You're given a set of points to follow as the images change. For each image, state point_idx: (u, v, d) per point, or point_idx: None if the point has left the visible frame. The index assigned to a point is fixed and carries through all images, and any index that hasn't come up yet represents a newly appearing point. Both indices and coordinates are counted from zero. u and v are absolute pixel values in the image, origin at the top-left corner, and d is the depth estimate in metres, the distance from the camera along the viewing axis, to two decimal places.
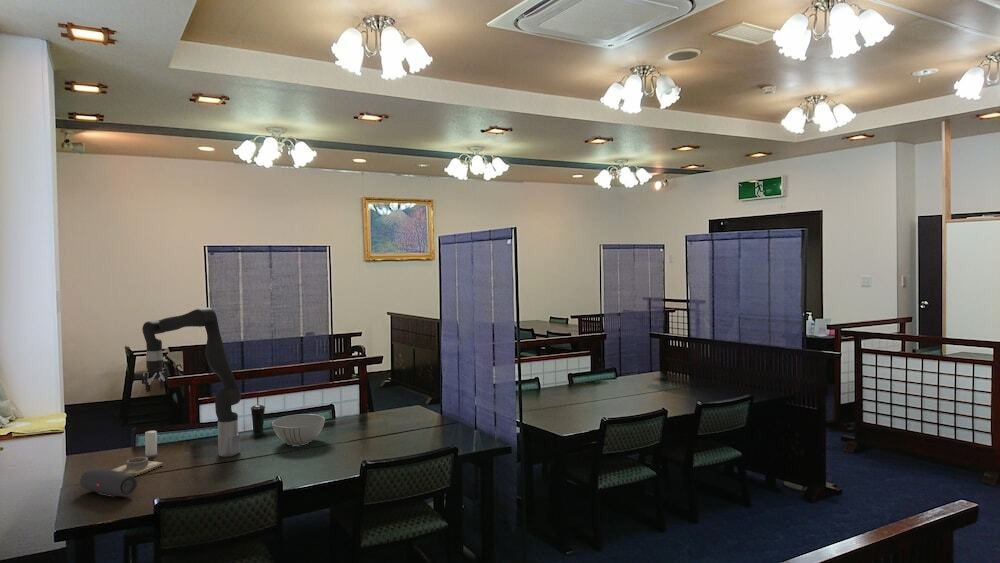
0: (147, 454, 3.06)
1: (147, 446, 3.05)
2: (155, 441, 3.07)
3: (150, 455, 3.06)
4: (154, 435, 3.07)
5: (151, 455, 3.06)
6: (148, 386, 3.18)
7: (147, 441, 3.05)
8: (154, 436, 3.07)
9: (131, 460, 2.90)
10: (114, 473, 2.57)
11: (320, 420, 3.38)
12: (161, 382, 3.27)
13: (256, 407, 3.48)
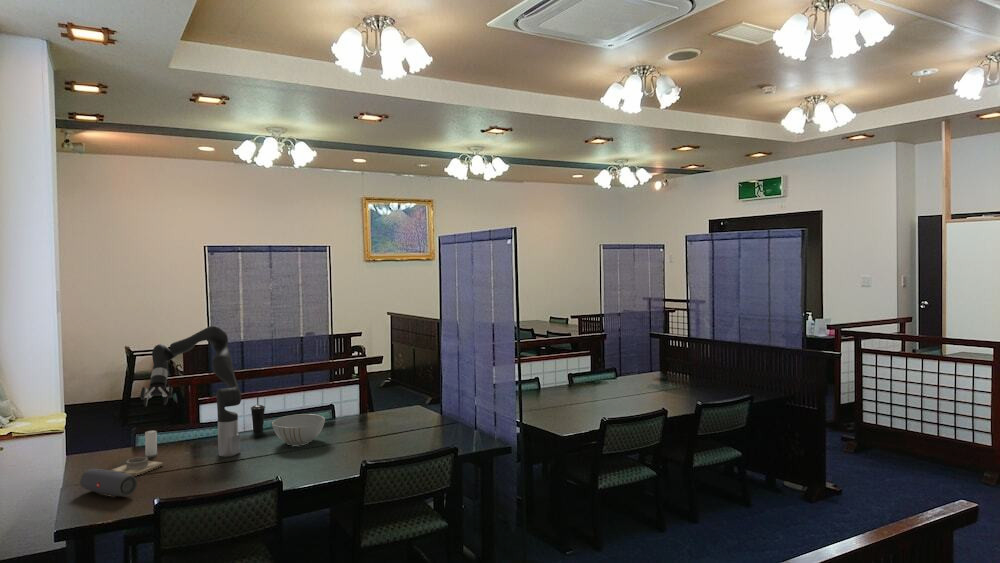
0: (147, 454, 3.06)
1: (147, 446, 3.05)
2: (155, 441, 3.07)
3: (150, 455, 3.06)
4: (154, 435, 3.07)
5: (151, 455, 3.06)
6: None
7: (147, 441, 3.05)
8: (154, 436, 3.07)
9: (131, 460, 2.90)
10: (114, 473, 2.57)
11: (320, 420, 3.38)
12: (147, 400, 3.19)
13: (256, 407, 3.48)
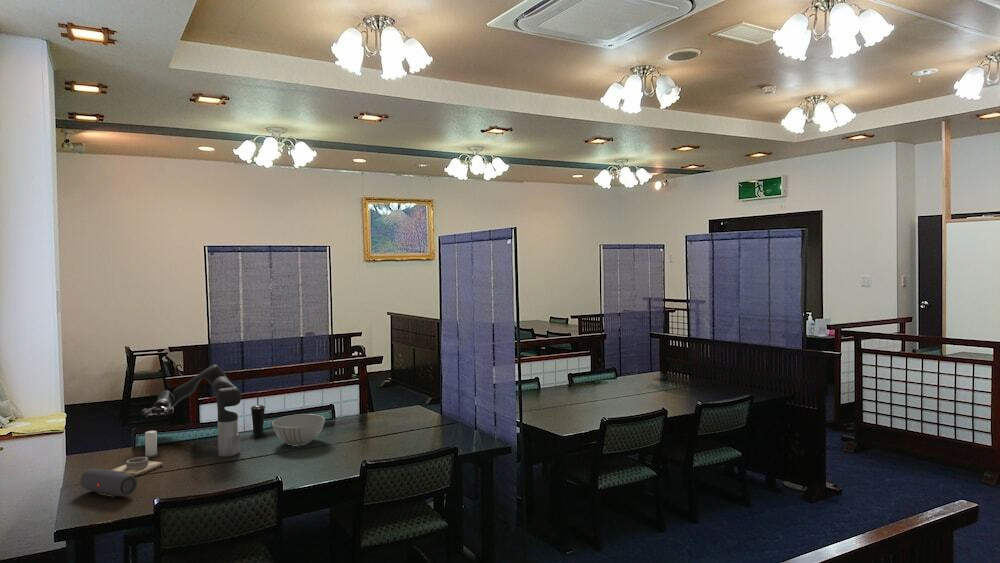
0: (147, 454, 3.06)
1: (147, 446, 3.05)
2: (155, 441, 3.07)
3: (150, 455, 3.06)
4: (154, 435, 3.07)
5: (151, 455, 3.06)
6: (167, 413, 3.22)
7: (147, 441, 3.05)
8: (154, 436, 3.07)
9: (131, 460, 2.90)
10: (114, 473, 2.57)
11: (320, 420, 3.38)
12: (147, 413, 3.19)
13: (256, 407, 3.48)
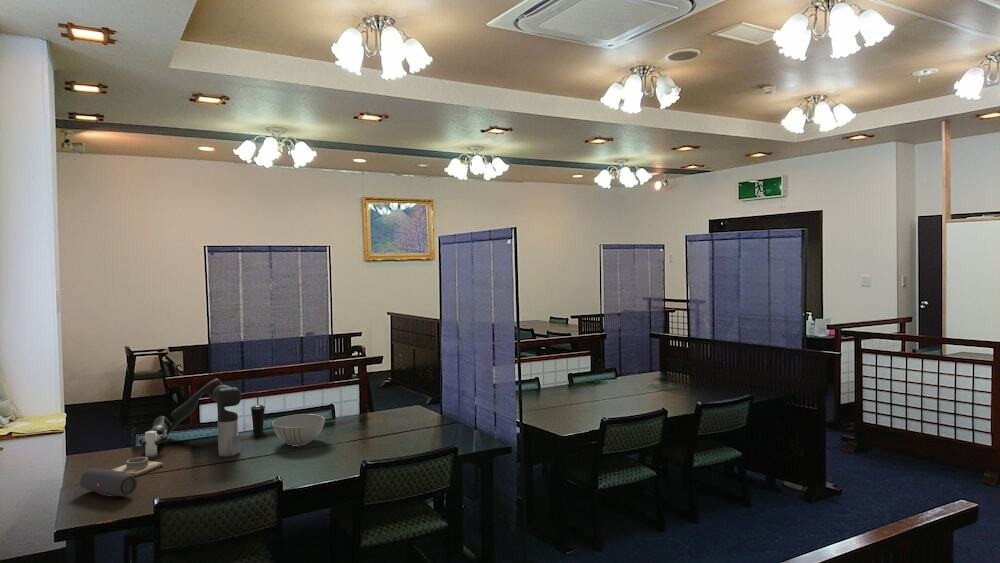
0: (147, 454, 3.06)
1: (147, 446, 3.05)
2: None
3: (150, 455, 3.06)
4: (154, 435, 3.07)
5: (151, 455, 3.06)
6: (159, 442, 3.09)
7: (147, 441, 3.05)
8: (154, 436, 3.07)
9: (131, 460, 2.90)
10: (114, 473, 2.57)
11: (320, 420, 3.38)
12: None
13: (256, 407, 3.48)
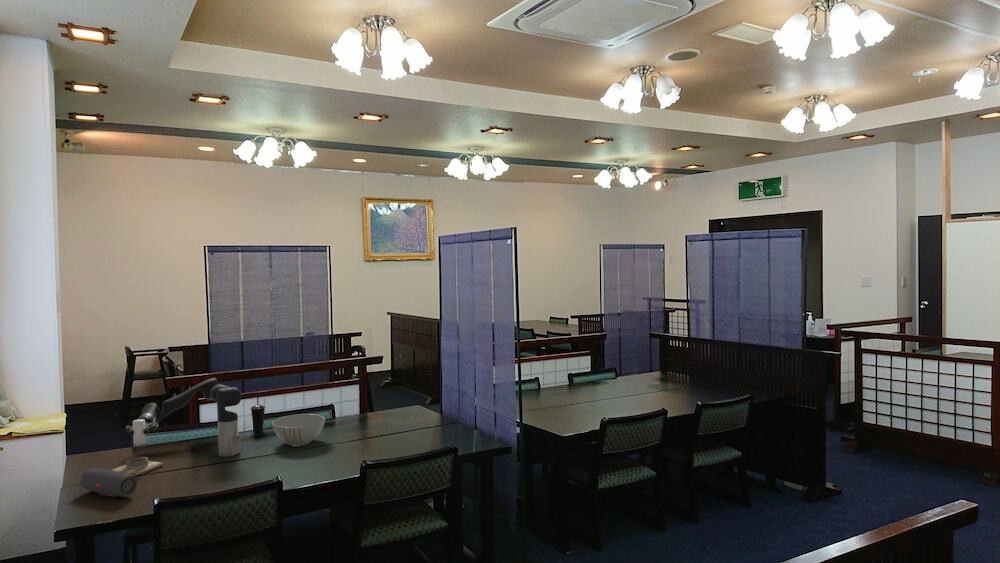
0: (135, 444, 2.91)
1: (135, 435, 2.90)
2: (143, 430, 2.92)
3: (138, 445, 2.91)
4: (142, 424, 2.92)
5: (139, 445, 2.91)
6: (147, 431, 2.94)
7: (135, 430, 2.90)
8: (142, 425, 2.92)
9: (131, 460, 2.90)
10: (114, 473, 2.57)
11: (320, 420, 3.38)
12: None
13: (256, 407, 3.48)
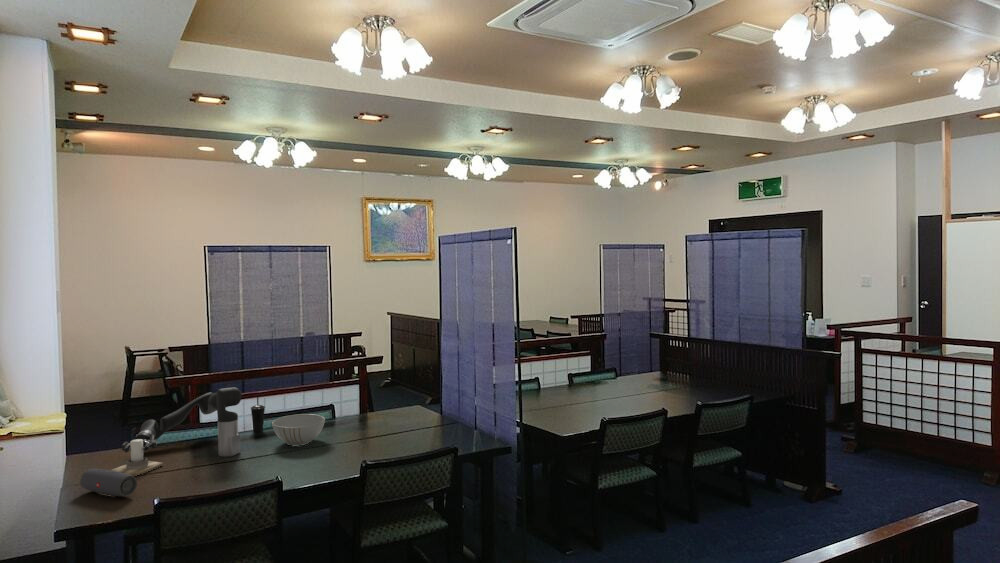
0: None
1: (133, 456, 2.86)
2: (141, 450, 2.88)
3: None
4: (140, 444, 2.87)
5: None
6: (148, 448, 2.91)
7: (133, 450, 2.86)
8: (140, 445, 2.87)
9: None
10: (114, 473, 2.57)
11: (320, 420, 3.38)
12: (128, 448, 2.88)
13: (256, 407, 3.48)
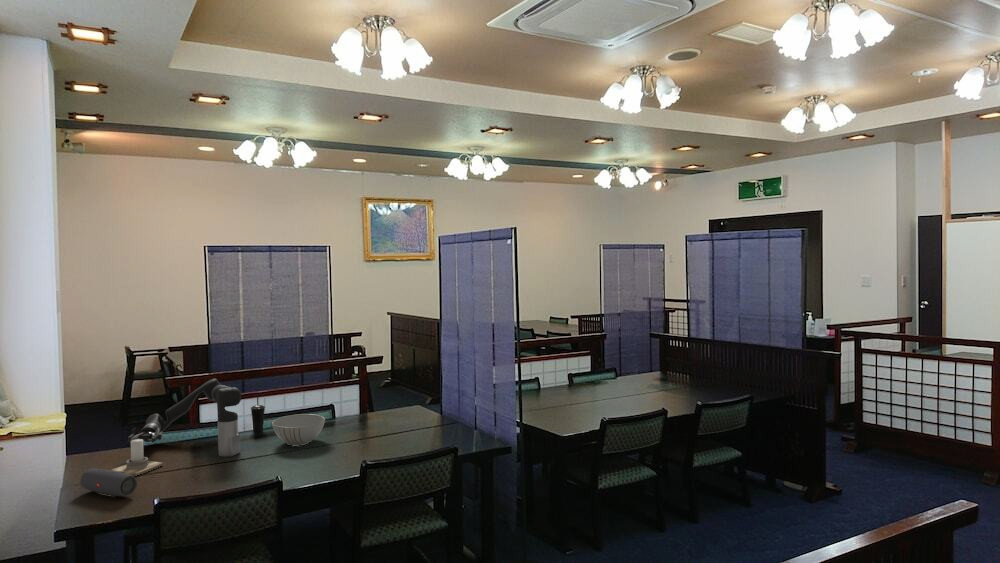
0: None
1: (133, 456, 2.86)
2: (141, 450, 2.88)
3: None
4: (140, 444, 2.88)
5: None
6: None
7: (133, 450, 2.86)
8: (140, 445, 2.88)
9: None
10: (114, 473, 2.57)
11: (320, 420, 3.38)
12: None
13: (256, 407, 3.48)
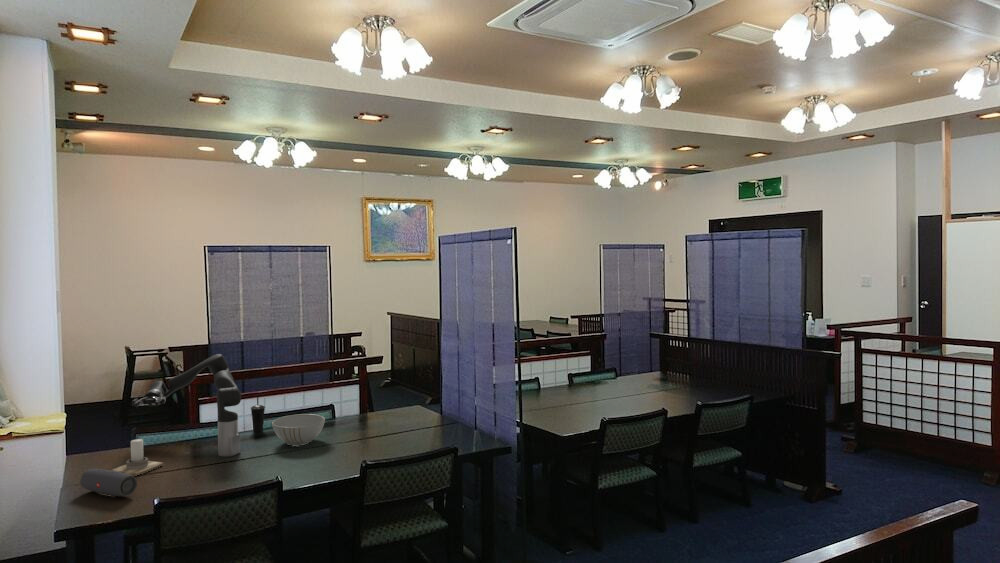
0: None
1: (133, 456, 2.86)
2: (141, 450, 2.88)
3: None
4: (140, 444, 2.88)
5: None
6: (158, 404, 3.10)
7: (133, 450, 2.86)
8: (140, 445, 2.88)
9: None
10: (114, 473, 2.57)
11: (320, 420, 3.38)
12: (138, 404, 3.07)
13: (256, 407, 3.48)
